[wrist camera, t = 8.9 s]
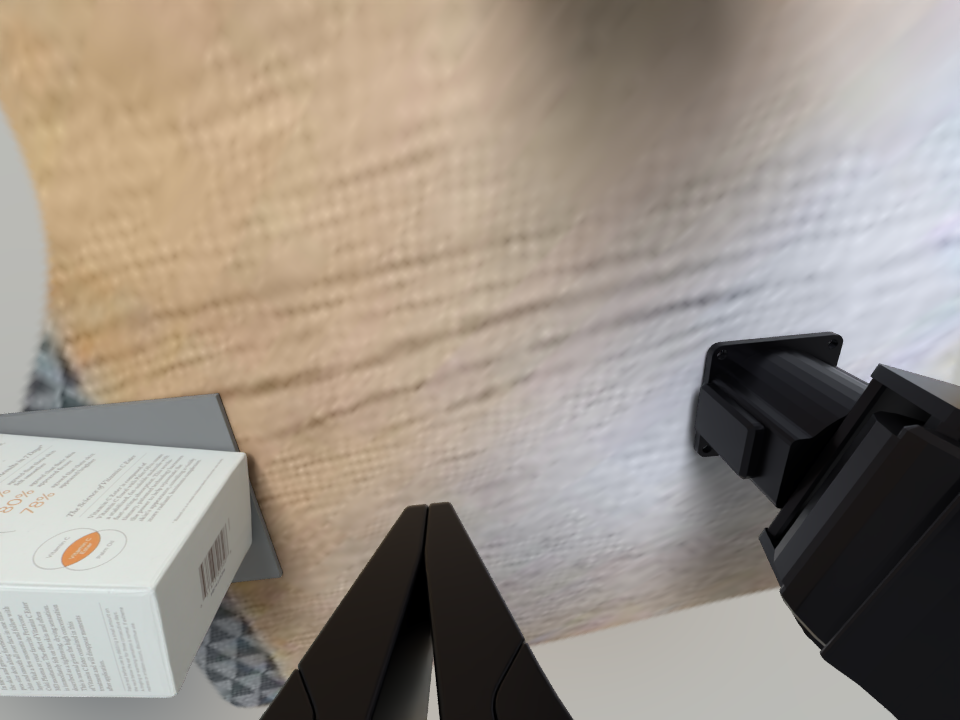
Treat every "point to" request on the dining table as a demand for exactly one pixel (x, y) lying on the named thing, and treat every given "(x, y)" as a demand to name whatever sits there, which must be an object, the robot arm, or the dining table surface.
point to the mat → (156, 425)
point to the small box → (113, 562)
